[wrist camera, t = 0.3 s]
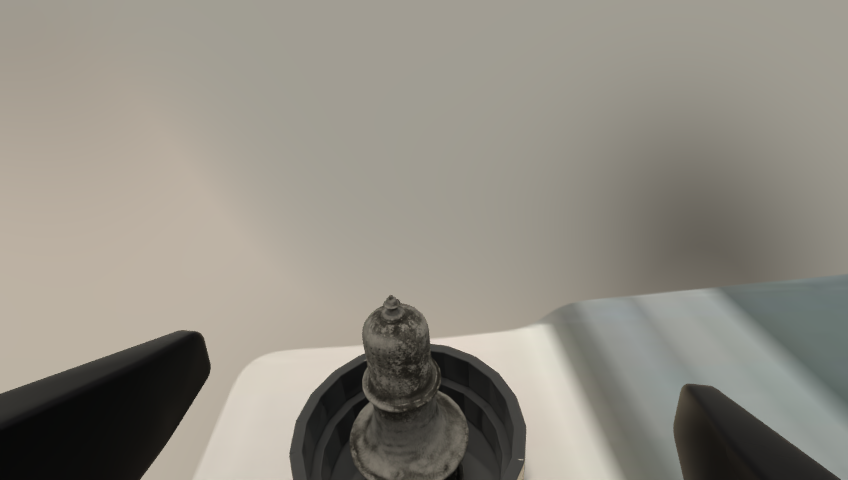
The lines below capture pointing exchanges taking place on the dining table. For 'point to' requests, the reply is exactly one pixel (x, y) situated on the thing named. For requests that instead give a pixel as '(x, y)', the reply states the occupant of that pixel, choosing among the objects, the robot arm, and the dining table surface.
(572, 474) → the dining table surface
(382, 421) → the salt shaker
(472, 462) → the charcoal bowl
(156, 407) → the robot arm
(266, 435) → the dining table surface
